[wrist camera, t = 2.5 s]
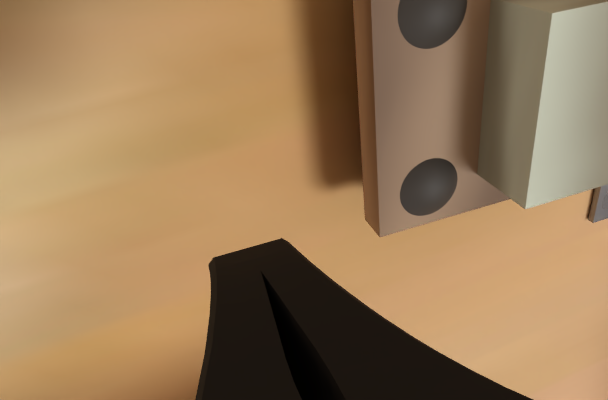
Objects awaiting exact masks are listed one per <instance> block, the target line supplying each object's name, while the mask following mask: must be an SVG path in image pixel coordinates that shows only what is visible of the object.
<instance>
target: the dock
mask: <svg viewBox="0 0 608 400" xmlns="http://www.w3.org/2000/svg"><path fill="white" fill-rule="evenodd" d="M607 218H608V184H607V185H604V186H601V187H597V188H595V190H594V195H593V199H592V204H591V209H590V213H589V218H588V220H589V221H591V222H592V223H594V222H597V221H600V220H604V219H607Z"/></svg>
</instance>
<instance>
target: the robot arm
mask: <svg viewBox="0 0 608 400" xmlns="http://www.w3.org/2000/svg"><path fill="white" fill-rule="evenodd" d="M209 270H210V277H211V303H210V317H209V325H208V333H207V341H206V348H205V355H204V360H203V365H202V370H201V375H200V380H199V385H198V390H197V395H196V399H195V400H533V399H531V398H528V397H526V396H524V395H522V394H519V393H517V392H515V391H513V390H510V389H508V388H506V387H504V386H502V385H500V384H498V383H496V382H494V381H492V380H490V379H488V378H486V377H484V376H482V375H480V374H478V373H476V372H474V371H472V370H470V369H468V368H466V367H465V366H463V365H461V364H459V363H457V362H456V361H454V360H452V359H450V358H448V357H446V356H445V355H443V354H441V353H439V352H438V351H436V350H434V349H432V348H431V347H429V346H427V345H426V344H424V343H422V342H421V341H419V340H418V339H416V338H414V337H413V336H411V335H409V334H408V333H406V332H405V331H403V330H402V329H400V328H399V327H397V326H396V325H394V324H393V323H391V322H389V321H388V320H386V319H385V318H383V317H382V316H381V315H379V314H378V313H376V312H375V311H373V310H372V309H371V308H369V307H368V306H366V305H365V304H364V303H362V302H361V301H360V300H358V299H357V298H356V297H354V296H353V295H351V294H350V293H349V292H347V291H346V290H345V289H343V288H342V287H341V286H339V285H338V284H337V283H336V282H334V281H333V280H332V279H331V278H329V277H328V276H327V275H326V274H324V273H323V272H322V271H321V270H320V269H318V268H317V267H316V266H315V265H314V264H312V263H311V262H310V261H309V260H308V259H307V258H306V257H304V256H303V255H302V254H301V253H300V252H299V251H298V250H297V249H296V248H294V247H293V246H292V245H291V244H290V243H289V242H288V241H286V240H284V239H282V238H281V239H278V240H274V241H271V242H267V243H264V244H260V245H257V246H253V247H250V248H246V249H242V250H239V251H235V252H232V253H228V254H225V255H221V256H218V257H214V258H213V259H212V261H211V262H210V263H209Z"/></svg>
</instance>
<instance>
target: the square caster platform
mask: <svg viewBox="0 0 608 400" xmlns="http://www.w3.org/2000/svg"><path fill="white" fill-rule="evenodd" d="M353 11H354V29H355V47H356V65H357V83H358V102H359V120H360V138H361V156H362V174H363V192H364V210H365V220H366V221H367V222H368V224H369V225H370V226H371V227H372V228H373V230H374V231H375V232H376V233H377V234H378V236H379V237H383V236H386V235H390V234H393V233H396V232H400V231H403V230H407V229H410V228H413V227H417V226H420V225H424V224H427V223H430V222H434V221H437V220H440V219H444V218H447V217H451V216H454V215H457V214H461V213H464V212H468V211H471V210H474V209H478V208H481V207H484V206H488V205H491V204H495V203H498V202H501V201H505V200H508V199H512V200H513V201H514V202H516V203H517V204H519V205H520V206H521V207H523V208H524V209H528V208H531V207H535V206H538V205H541V204H545V203H548V202H551V201H554V200H558V199H561V198H564V197H568V196H571V195H574V194H578V193H581V192H584V191H587V190H591V189H594V188H597V187H601V186H604V185H607V184H608V0H353Z"/></svg>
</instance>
